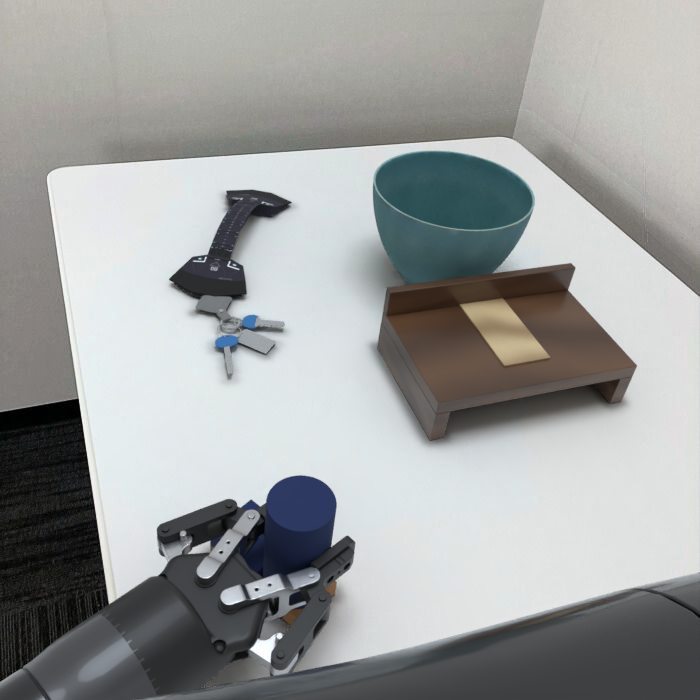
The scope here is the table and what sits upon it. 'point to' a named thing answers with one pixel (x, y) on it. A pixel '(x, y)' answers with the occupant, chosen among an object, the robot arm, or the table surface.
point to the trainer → (293, 530)
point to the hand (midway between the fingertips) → (324, 522)
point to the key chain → (248, 337)
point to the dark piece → (217, 268)
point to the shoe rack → (495, 342)
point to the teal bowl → (448, 214)
